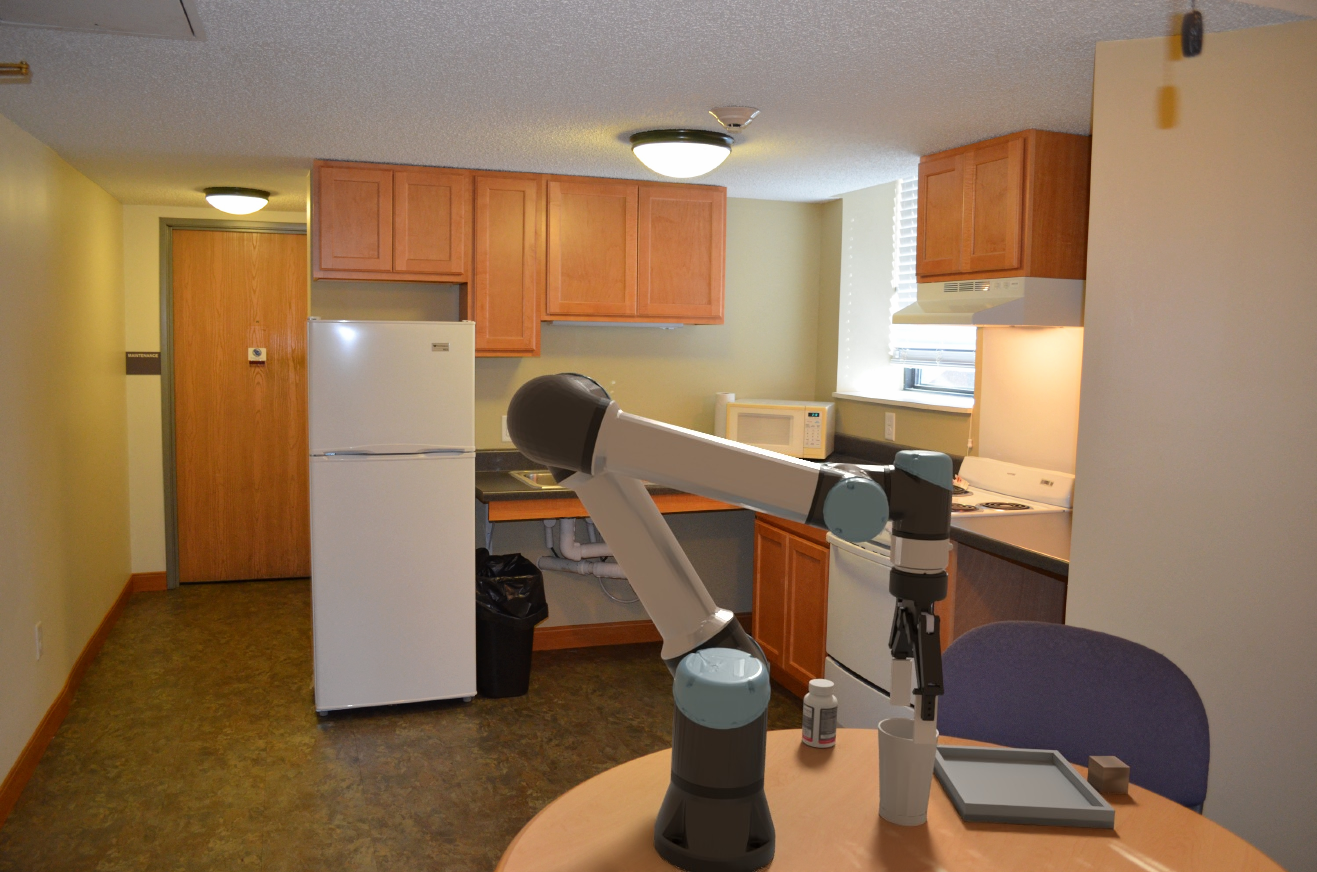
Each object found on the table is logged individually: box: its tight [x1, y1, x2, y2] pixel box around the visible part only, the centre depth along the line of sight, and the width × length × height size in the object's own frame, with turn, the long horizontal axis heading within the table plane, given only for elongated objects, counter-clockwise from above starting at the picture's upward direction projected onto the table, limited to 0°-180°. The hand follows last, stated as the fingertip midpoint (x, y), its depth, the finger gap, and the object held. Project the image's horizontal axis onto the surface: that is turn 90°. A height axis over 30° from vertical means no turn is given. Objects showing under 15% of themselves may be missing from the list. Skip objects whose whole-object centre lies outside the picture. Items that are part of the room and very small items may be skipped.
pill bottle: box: [801, 678, 839, 749], centre depth 155 cm, size 5×5×10 cm
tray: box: [933, 744, 1116, 829], centre depth 140 cm, size 20×20×2 cm
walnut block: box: [1086, 755, 1131, 794], centre depth 143 cm, size 4×4×4 cm
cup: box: [877, 717, 940, 827], centre depth 131 cm, size 8×8×12 cm
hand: (911, 722), depth 130 cm, fingers open, 13 cm apart
